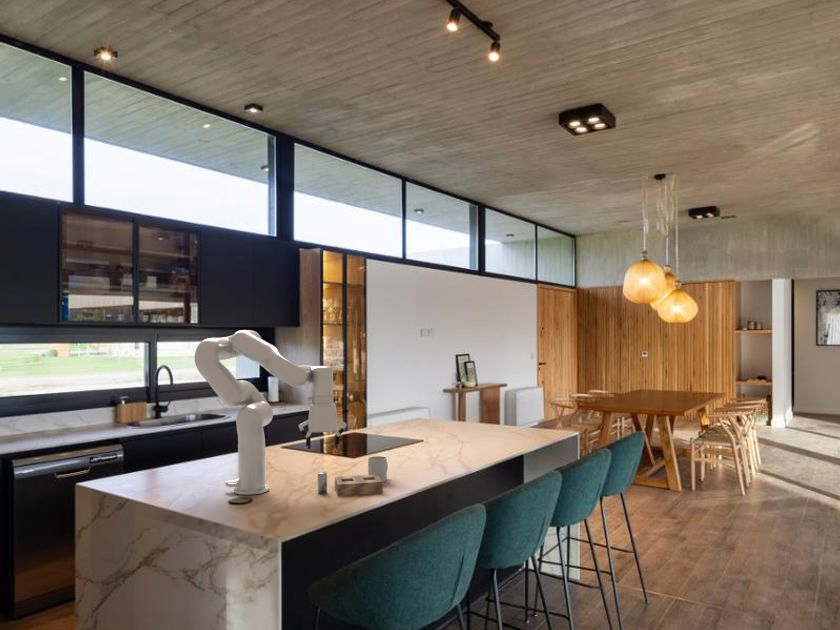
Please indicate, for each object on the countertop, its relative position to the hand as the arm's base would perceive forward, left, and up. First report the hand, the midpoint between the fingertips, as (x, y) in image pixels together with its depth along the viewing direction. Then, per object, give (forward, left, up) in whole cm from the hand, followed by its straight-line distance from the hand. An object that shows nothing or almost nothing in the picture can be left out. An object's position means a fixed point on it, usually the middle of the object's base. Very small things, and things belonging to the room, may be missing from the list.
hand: (322, 447), depth 223 cm
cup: (+23, +13, -16) cm, 31 cm away
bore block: (+13, 0, -16) cm, 21 cm away
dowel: (0, 0, -16) cm, 16 cm away
